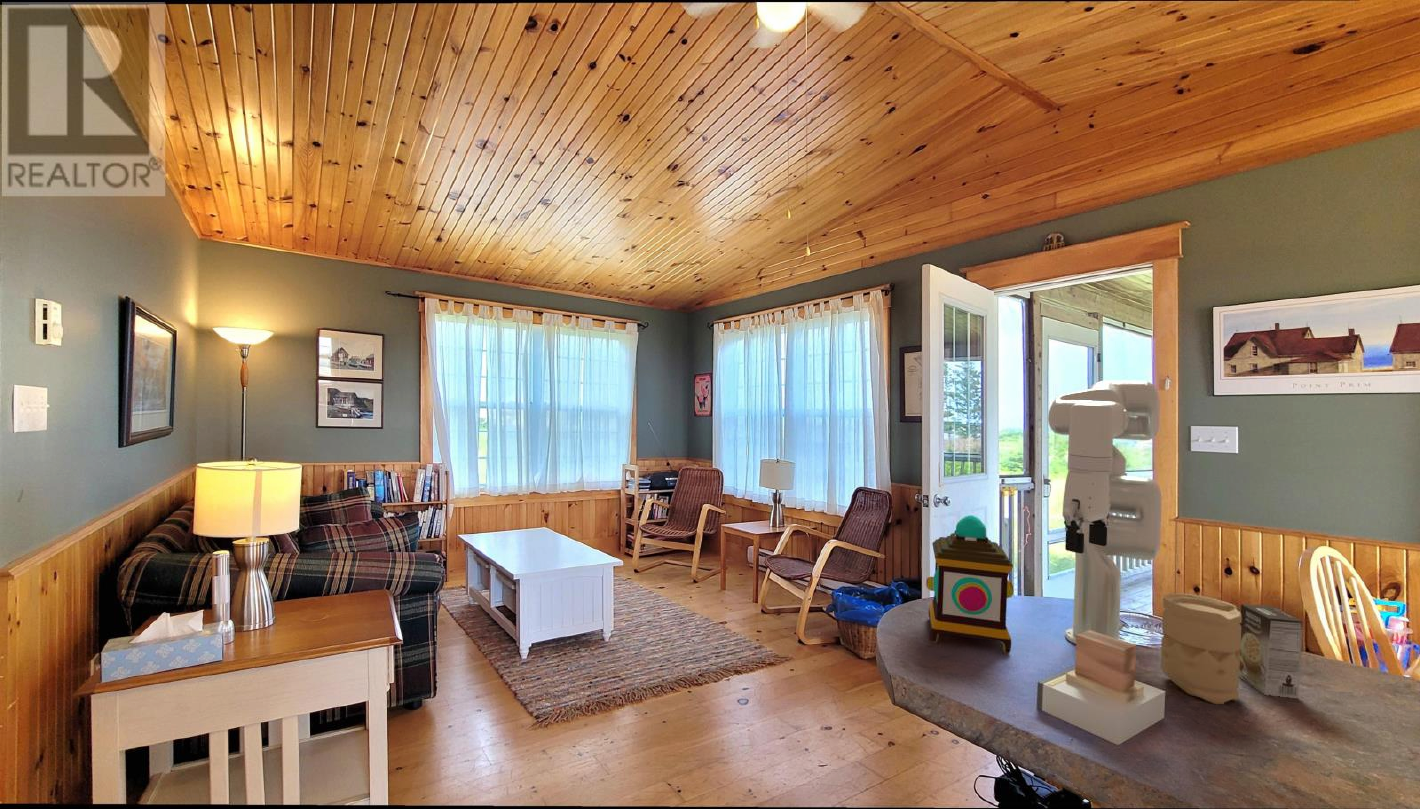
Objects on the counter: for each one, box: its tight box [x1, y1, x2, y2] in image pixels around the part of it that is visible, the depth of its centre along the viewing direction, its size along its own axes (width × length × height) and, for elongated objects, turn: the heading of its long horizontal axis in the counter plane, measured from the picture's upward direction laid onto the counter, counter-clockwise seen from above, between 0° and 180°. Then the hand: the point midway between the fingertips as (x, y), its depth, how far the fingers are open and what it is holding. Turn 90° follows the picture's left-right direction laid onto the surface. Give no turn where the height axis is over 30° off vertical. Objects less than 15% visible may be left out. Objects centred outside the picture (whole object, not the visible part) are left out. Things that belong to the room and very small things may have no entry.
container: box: [1160, 592, 1242, 705], centre depth 124 cm, size 13×13×18 cm
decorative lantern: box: [925, 514, 1014, 655], centre depth 149 cm, size 20×20×30 cm
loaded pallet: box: [1066, 630, 1144, 704], centre depth 113 cm, size 8×10×9 cm
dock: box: [1036, 666, 1166, 746], centre depth 114 cm, size 18×14×5 cm
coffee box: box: [1239, 603, 1304, 699], centre depth 127 cm, size 9×6×16 cm
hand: (1086, 547), depth 122 cm, fingers open, 9 cm apart
